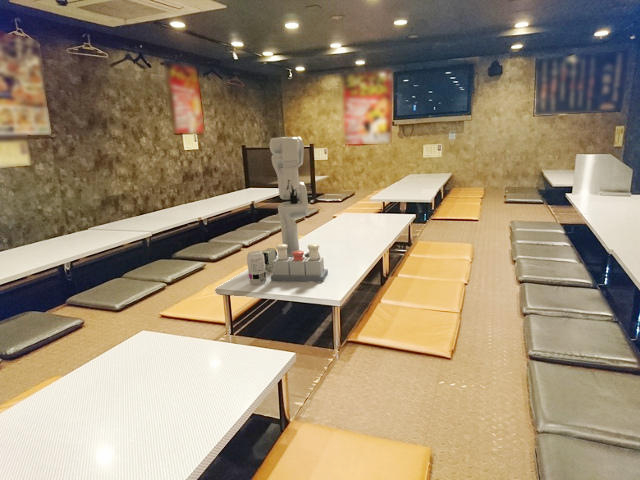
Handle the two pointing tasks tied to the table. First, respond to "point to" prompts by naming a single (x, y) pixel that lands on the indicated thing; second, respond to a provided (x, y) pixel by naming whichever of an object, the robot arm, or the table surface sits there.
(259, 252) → the supplement can
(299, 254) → the red rounded knob
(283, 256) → the ivory plunger
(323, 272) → the grey compartment rack
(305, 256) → the electrical switch
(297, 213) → the robot arm
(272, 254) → the pneumatic valve
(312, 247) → the ivory plunger
